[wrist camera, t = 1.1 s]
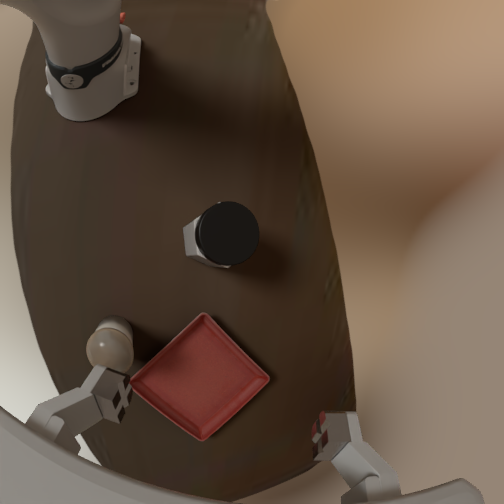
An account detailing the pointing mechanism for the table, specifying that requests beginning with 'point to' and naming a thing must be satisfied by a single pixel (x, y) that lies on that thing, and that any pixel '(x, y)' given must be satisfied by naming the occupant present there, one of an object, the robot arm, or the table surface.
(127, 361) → the canister
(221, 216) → the jar
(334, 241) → the table surface
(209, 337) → the plant saucer
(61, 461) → the robot arm
